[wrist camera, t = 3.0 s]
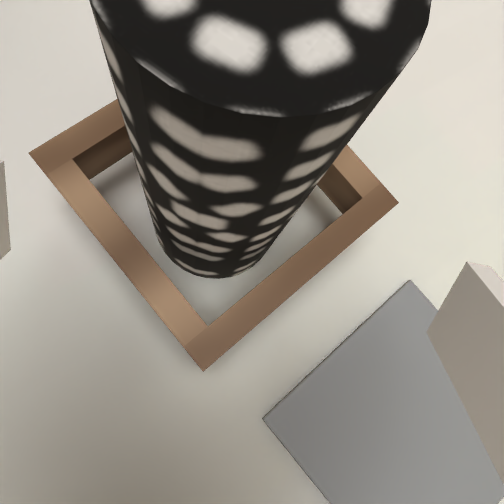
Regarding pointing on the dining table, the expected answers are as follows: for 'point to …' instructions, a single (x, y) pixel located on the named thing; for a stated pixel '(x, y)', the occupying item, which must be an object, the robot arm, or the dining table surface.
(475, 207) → the dining table surface
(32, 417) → the dining table surface
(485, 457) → the mat
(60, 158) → the square frame stand
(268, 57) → the spotted tube
